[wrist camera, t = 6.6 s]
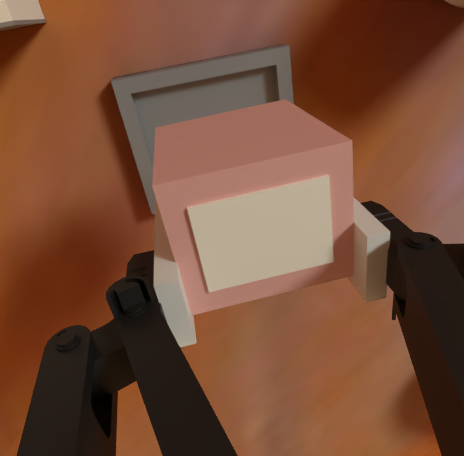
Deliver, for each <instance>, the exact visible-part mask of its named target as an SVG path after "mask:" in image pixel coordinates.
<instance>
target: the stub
mask: <svg viewBox="0 0 464 456" xmlns="http://www.w3.org/2000/svg"><path fill="white" fill-rule="evenodd" d="M152 187H153V190H154V193H155V197H156V200H157V203H158V207H159V210H160V213H161V217H162V220H163V223H164V226H165V230H166V233H167V236H168V240H169V243H170V246H171V250H172V253H173V256H174V259H175V263H176V262H177V264H178V268H179V271H180V275H181V278H182V282H183V286H184V289H185V293H186V296H187V300H188V303H189V307H190V310H191V314H192V315H195V314H199V313H203V312H207V311H211V310H215V309H219V308H223V307H228V306H232V305H236V304H240V303H244V302H248V301H252V300H256V299H260V298H264V297H268V296H272V295H276V294H280V293H284V292H288V291H292V290H296V289H300V288H304V287H309V286H313V285H317V284H321V283H325V282H329V281H333V280H337V279H341V278H345V277H349V276H353V275H354V208H353V151H352V140H350V139H349V138H347V137H346V136H344V135H342V134H341V133H339V132H337V131H336V130H334V129H333V128H331V127H329V126H328V125H326V124H325V123H323V122H321V121H320V120H318V119H316V118H315V117H313V116H312V115H310V114H308V113H307V112H305V111H304V110H302V109H300V108H299V107H297V106H296V105H294V104H292V103H291V102H289V101H287V100H286V99H284V100H279V101H275V102H270V103H266V104H261V105H256V106H252V107H247V108H243V109H238V110H233V111H229V112H224V113H220V114H215V115H210V116H206V117H201V118H197V119H192V120H187V121H183V122H178V123H174V124H169V125H164V126H160V127H156V128H155V146H154V164H153V181H152Z"/></svg>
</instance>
